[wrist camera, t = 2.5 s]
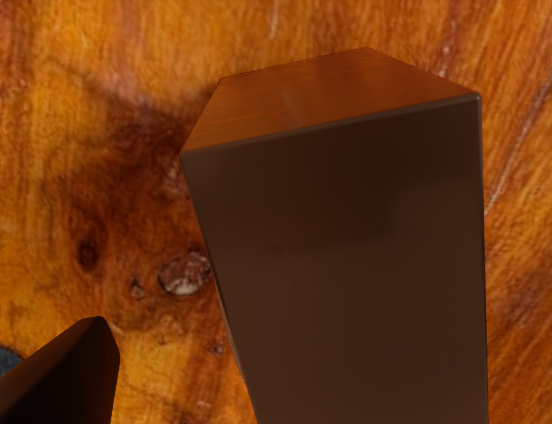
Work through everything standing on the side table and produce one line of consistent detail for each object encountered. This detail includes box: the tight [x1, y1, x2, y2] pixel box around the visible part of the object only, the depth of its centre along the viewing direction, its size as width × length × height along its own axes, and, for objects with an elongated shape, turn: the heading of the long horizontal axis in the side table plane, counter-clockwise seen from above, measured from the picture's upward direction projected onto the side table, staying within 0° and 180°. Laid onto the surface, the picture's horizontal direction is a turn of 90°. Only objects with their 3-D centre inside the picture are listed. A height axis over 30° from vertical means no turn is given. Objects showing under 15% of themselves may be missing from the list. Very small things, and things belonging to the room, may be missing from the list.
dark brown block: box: [178, 47, 489, 424], centre depth 11 cm, size 4×7×7 cm, turn 11°
